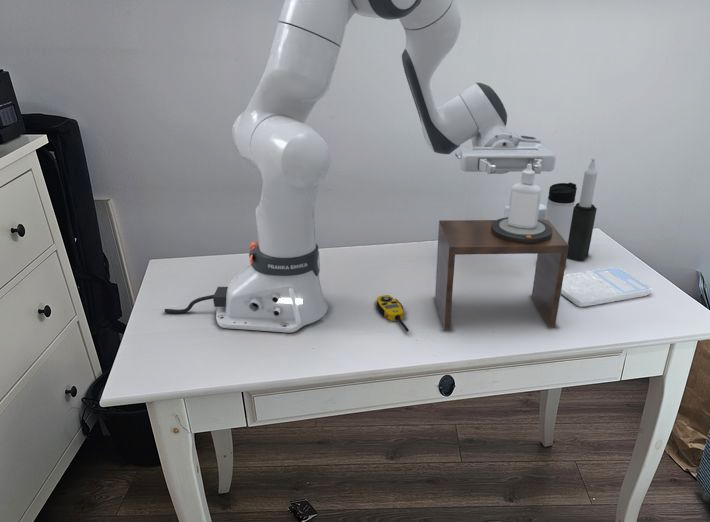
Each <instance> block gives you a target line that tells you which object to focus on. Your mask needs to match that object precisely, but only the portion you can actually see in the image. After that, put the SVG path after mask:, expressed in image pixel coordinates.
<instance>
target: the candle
mask: <svg viewBox="0 0 710 522" xmlns="http://www.w3.org/2000/svg"><path fill="white" fill-rule="evenodd" d="M595 161H596V158H595V157H592V158H591V161H590V163H589V165H588V167H587V168H586V169H585V171H584V173H583V179H582V186H581V192H580V197H579V202H577V203H575V204H574V209H573V215H572V221H571V227H570V233H569V239H568V245H569V248H568V253H567V259H570V260H574V261H577V262H583V261H585V259H586V258H588V257H589V253H590V246H591V242H592V236H593V231H594V225H595V221H596V215H597V209H598V208H597V207H596V206H595V205H594V204H593V198H594V192H595V189H596V182H597V177H598V171H597V169H596V162H595Z"/></svg>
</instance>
